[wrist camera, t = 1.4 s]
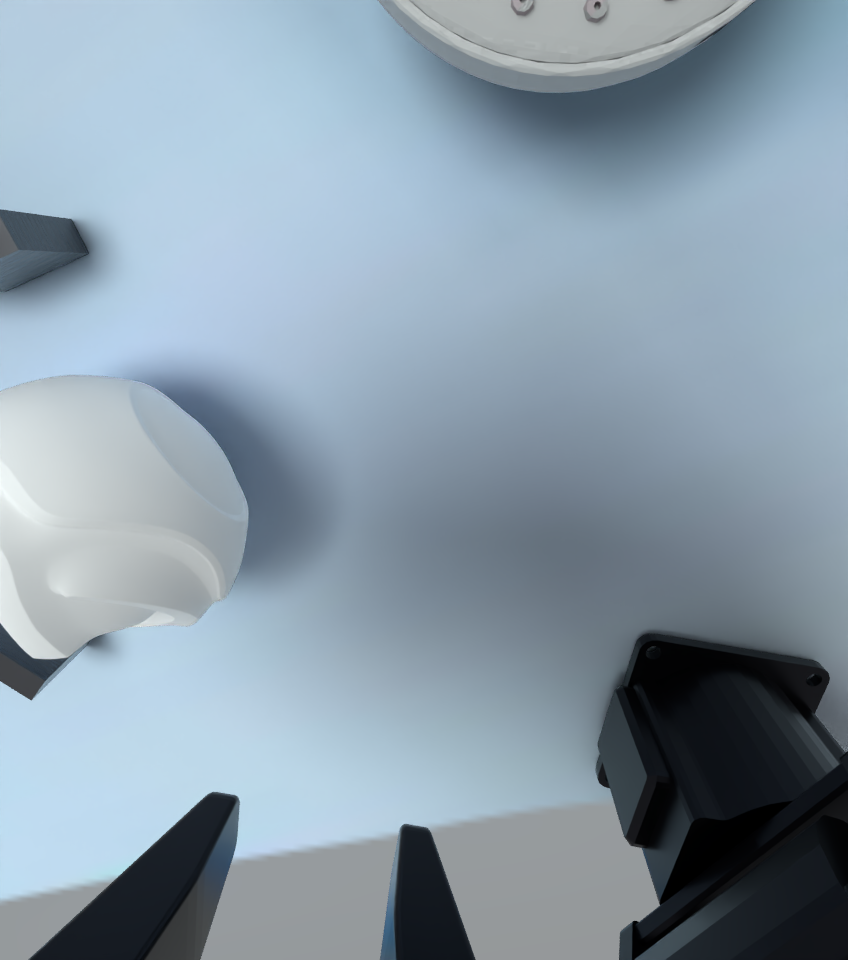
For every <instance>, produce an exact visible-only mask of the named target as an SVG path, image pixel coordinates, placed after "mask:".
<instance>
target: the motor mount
mask: <svg viewBox="0 0 848 960" xmlns="http://www.w3.org/2000/svg"><path fill="white" fill-rule="evenodd" d="M87 254H89V253H88V251H87V249H86V247H85V245H84V243H83V241H82V239H81V237H80V235H79V234H78V232H77V230H76V228H75V226H74V224H73V222H72V220H71V219H66V218H59V217H51V216H44V215H37V214H30V213H22V212H15V211H8V210H0V292H5V291H8V290H10V289H12V288H15V287H17V286H19V285H21V284H23V283H25V282H28V281H30V280H32V279H34V278H36V277H39V276H41V275H43V274H45V273H47V272H50V271H52V270H54V269H56V268H58V267H60V266H63V265H65V264H67V263H69V262H71V261H74V260H76V259H78V258H80V257H82V256H85V255H87ZM89 641H90V640H89ZM89 641H88V642H86V643H85V644H84V645H83V646H81V647H80V648H79V649H78V650H76V651H75V652H74V653H73V654H72V655H70V656H69V657H67V658H59V659H35V658H32V657H31V656H30V655H29V654H27V653H26V652H25V651H24V650H23V649H22V648H21V647H20V646H19V645H18V644H17V643H16V642H15V640H14V639H13V638H12V637H11V636H10V635H9V633H8V632H7V631H6V630H5V628H4V627H3V626H2V625H1V623H0V681H1V682H3V683H4V684H6V685H7V686H9V687H11V688H12V689H14V690H15V691H17V692H19V693H20V694H22V695H23V696H25V697H27V698H28V699H30V700H32V699H33V698H34V697H35V696H36V695H37V694H38V693H39V692H40V691H41V690H42V689H43V688H44V687H45V686H46V685H47V684H48V683H49V682H50V681H51V680H52V679H53V678H54V677H55V676H56V675H57V674H58V673H59V672H61V671H62V670H63V669H64V668H65V667H66V666H67V665H68V664H69V663H70V662H71V661H72V660H73V659H74V658H75V657H76V656H77V655H78V654H79V653H80V652H81V651H82V650H83V649H84V648H85V647H86V645H87V644H88V643H89Z"/></svg>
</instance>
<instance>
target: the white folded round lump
mask: <svg viewBox="0 0 848 960" xmlns="http://www.w3.org/2000/svg"><path fill="white" fill-rule="evenodd" d="M248 516H249V510H248V504H247V501H246V498H245V495H244V493H243V491H242V489H241V486H240V485H239V483H238V481H237V479H236V477H235V474H234V472H233V469H232V467H231V465H230V463H229V461H228V459H227V457H226V455H225V454H224V452H223V451H222V449H221V448H220V446H219V445H218V443H217V442H216V441H215V439H214V438H213V437H212V436H211V435H210V433H209V432H208V431H207V430H206V429H205V428H204V427H203V426H202V425H201V424H200V423H199V422H197V421H196V420H195V419H194V418H193V417H191V416H190V415H189V414H188V413H186V412H185V411H184V410H182V409H181V408H180V407H179V406H178V405H177V404H176V403H175V402H173V401H172V400H171V399H170V398H168V397H167V396H166V395H165V394H163V393H162V392H160V391H159V390H157V389H155V388H154V387H152V386H150V385H147V384H145V383H141V382H138V381H133V380H128V379H122V378H115V377H106V376H92V375H67V376H57V377H50V378H44V379H39V380H35V381H31V382H27V383H23V384H20V385H17V386H14V387H11V388H8V389H5V390H3V391H0V623H1V625H2V626H3V627H4V628H5V630H6V631H7V632H8V633H9V635H10V636H11V637H12V638H13V639H14V640H15V642H16V643H17V644H18V645H19V646H20V647H21V648H22V649H23V650H24V651H25V652H26V653H27V654H29V655H30V656H31V657H32V658H35V659H59V658H67V657H69V656H70V655H72V654H73V653H74V652H75V651H76V650H78V649H79V648H80V647H81V646H83V645H84V644H85V643H86V642H88V641H89V640H91V639H92V638H94V637H96V636H99V635H102V634H106V633H110V632H114V631H118V630H122V629H125V628H129V627H150V626H186V627H187V626H191V625H193V624H195V623H196V622H197V621H198V620H199V619H200V618H201V617H202V616H203V614H204V613H205V612H206V611H207V609H208V608H209V607H210V606H211V605H212V604H213V603H214V602H217V601H222V600H224V599H225V598H227V596H228V594H229V592H230V590H231V588H232V586H233V584H234V582H235V579H236V577H237V574H238V572H239V569H240V566H241V562H242V559H243V554H244V549H245V544H246V537H247V529H248Z"/></svg>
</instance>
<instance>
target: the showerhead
mask: <svg viewBox="0 0 848 960" xmlns="http://www.w3.org/2000/svg"><path fill="white" fill-rule="evenodd" d="M378 1H379V2H380V4H381V5H382V6H383V7H384V9H385V10H386V11H387V12H388V14H389V15H390V16H391V17H392V18H393V19H394V20H395V21H396V22H397V23H398V24H399V25H400V26H401V27H402V28H403V29H404V30H405V31H406V32H407V33H408V34H409V35H410V36H412V37H413V38H414V39H415V40H416V41H418V42H419V43H420V44H421V45H422V46H424V47H425V48H426V49H427V50H429V51H430V52H432V53H433V54H435V55H436V56H438V57H439V58H441V59H442V60H444V61H445V62H447V63H448V64H450V65H452V66H454V67H456V68H458V69H460V70H462V71H464V72H466V73H468V74H470V75H472V76H475V77H477V78H480V79H483V80H485V81H488V82H490V83H494V84H498V85H501V86H505V87H509V88H513V89H518V90H525V91H533V92H543V93H569V92H580V91H589V90H594V89H598V88H603V87H607V86H612V85H615V84H619V83H622V82H626V81H629V80H633V79H636V78H639V77H641V76H643V75H646V74H648V73H650V72H653V71H655V70H657V69H660V68H662V67H664V66H665V65H667V64H669V63H670V62H672V61H674V60H676V59H677V58H679V57H681V56H682V55H684V54H686V53H687V52H689V51H691V50H692V49H694V48H695V47H697V46H698V45H700V44H702V43H703V42H705V41H706V40H708V39H709V38H710V37H712V36H713V35H714V34H715V33H717V32H718V31H719V30H720V29H722V28H723V27H724V26H725V25H727V24H728V23H729V22H730V21H732V20H733V19H734V18H735V17H736V16H737V15H739V14H740V13H741V12H743V11H744V10H745V9H746V8H748V7H749V6H750V5H751V4H752V3H754V2H755V1H756V0H378Z"/></svg>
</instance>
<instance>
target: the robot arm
mask: <svg viewBox="0 0 848 960" xmlns="http://www.w3.org/2000/svg"><path fill="white" fill-rule="evenodd" d="M655 646H656V647H657V649H656V650H655V651H653V652H646V651H647V650H648V648H650V647H655ZM812 674H815V675H814V676H813V677H811V678H809V679H807V678H808V676H810V675H812ZM829 679H830V677H829V673H828V672H827V671H826V670H825V669H824V668H823V667H822V666H821V665H820V664H819V663H818V662H816V661H813V660H807V659H801V658H795V657H789V656H783V655H777V654H771V653H765V652H760V651H754V650H748V649H742V648H736V647H730V646H724V645H718V644H712V643H706V642H700V641H695V640H689V639H683V638H677V637H671V636H665V635H659V634H646V635H643V636H642V637H641V638H639V639H638V641H637V643H636V645H635V648H634V651H633V654H632V657H631V660H630V663H629V666H628V670H627V673H626V676H625V679H624V682H623V685H622V686H619V687H618V688H617V689H616V690H615V691H614V694H613V697H612V700H611V703H610V706H609V709H608V712H607V716H606V719H605V722H604V725H603V728H602V731H601V734H600V737H599V741H598V748H599V752H600V756H599V759H598V762H597V765H596V774H597V778H598V781H599V783H600V784H601V785H602V786H604V787H607V788H610V789H611V793H612V796H613V800H614V803H615V807H616V810H617V814H618V817H619V820H620V824H621V827H622V831H623V834H624V837H625V838H626V840H627V841H628V843H629V844H630V845H631V846H635V847H640V848H642V850H643V853H644V856H645V859H646V862H647V865H648V869H649V872H650V875H651V878H652V882H653V885H654V888H655V891H656V894H657V897H658V900H659V904H660V906H659V907H658V908H656V909H655V910H654V911H653V912H651V913H650V914H649V915H647V916H646V917H645V918H644V919H643V920H641V921H640V922H637V921H633V922H632V923H630V924H629V925H628V926H627V927H625V928H624V929H623V930H622V931H621V932H620V950H619V960H848V751H847V752H846V753H845V752H844V750H843V749H842V748H841V747H840V745H839V744H838V743H837V742H836V740H835V739H834V738H833V737H832V735H831V734H830V733H829V732H828V730H827V729H826V728H825V727H824V725H823V724H822V723H821V722H820V720H819V719H818V718H817V717H816V715H815V714H814V713H815V711H816V709H817V707H818V705H819V703H820V700H821V698H822V696H823V694H824V692H825V690H826V687H827V685H828V683H829ZM239 805H240V802H239V798H238V797H237V796H235V795H231V794H225V793H219V792H212V793H209V794H208V795H207V796H205V797H204V798H203V799H202V800H201V801H200V802H199V803H198V804H197V805H196V806H194V807H193V808H192V809H191V810H190V811H189V812H188V813H187V814H186V815H185V816H184V817H183V818H181V819H180V820H179V821H178V822H177V823H176V824H175V825H174V826H173V827H172V828H171V829H170V830H168V831H167V832H166V833H165V834H164V835H163V836H162V837H161V838H160V839H159V840H158V841H157V842H155V843H154V844H153V845H152V846H151V847H150V848H149V849H148V850H147V851H146V852H145V853H144V854H142V855H141V856H140V857H139V858H138V859H137V860H136V861H135V862H134V863H133V864H132V865H131V866H129V867H128V868H127V869H126V870H125V871H124V872H123V873H122V874H121V875H120V876H119V877H118V878H116V879H115V880H114V881H113V882H112V883H111V884H110V885H109V886H108V887H107V888H106V889H105V890H104V891H103V892H101V893H100V894H99V895H98V896H97V897H96V898H95V899H94V900H93V901H92V902H91V903H90V904H88V905H87V906H86V907H85V908H84V909H83V910H82V911H81V912H80V913H79V914H77V915H76V916H75V917H74V918H73V919H72V920H71V921H70V922H69V923H68V924H67V925H66V926H64V927H63V928H62V929H61V930H60V931H59V932H58V933H57V934H56V935H55V936H54V937H53V938H51V939H50V940H49V941H48V942H47V943H46V944H45V945H44V946H43V947H42V948H41V949H40V950H38V951H37V952H36V953H35V954H34V955H33V956H32V957H31V958H30V959H29V960H200V959H201V956H202V952H203V949H204V946H205V943H206V940H207V937H208V934H209V931H210V927H211V924H212V921H213V918H214V915H215V912H216V909H217V905H218V902H219V899H220V896H221V893H222V890H223V886H224V883H225V880H226V877H227V874H228V871H229V868H230V864H231V861H232V858H233V855H234V851H235V847H236V842H237V833H238V819H239ZM380 960H475V957H474V954H473V951H472V948H471V945H470V943H469V940H468V937H467V934H466V931H465V928H464V925H463V923H462V920H461V917H460V914H459V911H458V908H457V905H456V903H455V900H454V897H453V894H452V891H451V889H450V885H449V883H448V880H447V877H446V874H445V871H444V868H443V865H442V862H441V860H440V857H439V854H438V851H437V848H436V845H435V843H434V840H433V837H432V834H431V832H430V830H429V829H428V828H426V827H421V826H415V825H409V824H404V825H402V826H401V827H400V831H399V836H398V841H397V846H396V852H395V857H394V862H393V868H392V873H391V881H390V888H389V896H388V903H387V911H386V919H385V926H384V934H383V941H382V949H381V956H380Z"/></svg>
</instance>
